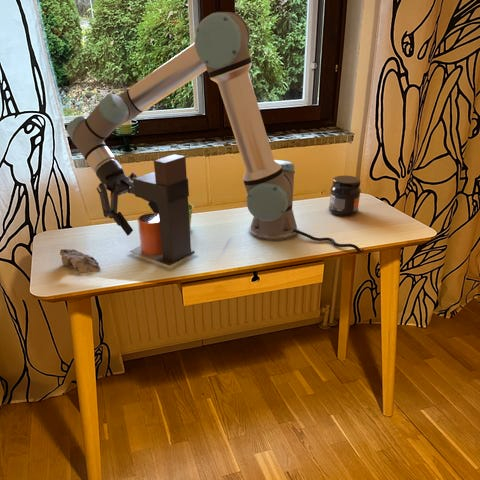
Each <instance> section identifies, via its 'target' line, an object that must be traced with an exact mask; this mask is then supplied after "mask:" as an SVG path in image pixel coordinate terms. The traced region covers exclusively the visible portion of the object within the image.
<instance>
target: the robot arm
mask: <svg viewBox="0 0 480 480" xmlns="http://www.w3.org/2000/svg"><path fill="white" fill-rule="evenodd" d="M250 37H251V34H250V29H249V25H248V24H247V22H246V21H245V19H244V18H243V17H242V16H241V15H239V14H238V13H236V12H232V11H216V12H212V13H211V14H209V15H207V16H205V17H204V18H203V19H202V20H201V21H200V22H199V24H198V25H197V27H196V30H195V33H194V38H193V39H194V40H193V41H194V42H193V43H192V44H191V45H189V46H188V47H186V48H185V49H183V50H182V51H181V52H179V53H178V54H176V55H174V57H172V58H170V59H169V60H167V61H166V62H165V63H164V64H161V65H160V66H158V67H157V68H156V69H154V70H153V71H152V72H150V73H149V74H147V75H146V76H145V77H143V78H141V79H140V80H139V81H137V82H136V83H134V84H132V85H131V86H130V87H129V88H127V89H126V90H124V91H122V92H121V93H120V94H118V95H117V94H114V93H112V92H111V93H110V92H109V93H107V94H106V95H105V96H104V97H103V98H102V99H100V101H99V102H98V104H97V105H96V106H95V107H94V109H92V111H91V112H90V113H89V115H88V116H84V115H80V116H79V115H78V116H76V117H74V118H73V119H72V120H70V121H69V122H68V124H67V126H66V133H67V135H68V136H69V138H70V139H71V142H72V144H73V145H74V146H75V147H76V148H77V150H78V152H80V154H81V155H82V156H83V158H84V160H85V161H86V163H87V165H88V166H89V167H90V168H91V170H92V171H93V172H94V173H95V175H96V177H97V179H98V180H99V181H100V183H99V184H98V185H97V187H96V191H97V193H98V194H99V199H100V205H101V208H102V214H103V217H104V218H109V219H111V220H113V221H114V222H115V223H116V225H117V226H118V227H119V226H120V228H121V229H122V230H123V232H124V233H125V235H126V236H127V237H128V236H130V235H131V233H132V232H133V231H134V229H133V228H132V226H131V225H130V224H129V222H128V220H126V218H125V216H124V215H123V214H122V212H121V211H118V203H119V196H122V195H123V194H124V195H125V194H132V195H134V196H135V189H134V181H133V179H134V178H137V177H138V176H137V174H135V172H131V174H130V175H128V176H127V175H126V174H125V172H124V168H123V167H122V166H121V164H120V163H119V161H118V159H117V160H116V157H115V156H114V154H113V153H112V151H111V150H110V148H109V147H108V146H107V145H106V141H105V140H107V139H108V137H109V136H110V135H111V134H112V133H113V132H114V131H115V130H117V128H119V127H120V126H122V125H124V124H125V123H127V122H129V121H132V120H134V119H136V118H137V117H138V116H139V115H140V114H142V113H143V112H145V111H146V110H148V109H150V108H151V107H152V106H154V105H155V104H157V103H158V102H160V101H162V100H163V99H164V98H166V97H168V96H169V95H170V94H172V93H174V92H176V91H177V90H178V89H180V88H182V87H183V86H185V85H187V84H188V83H189V82H191V81H192V80H194V79H195V78H196V77H197V78H198V76H200V75H201V74H203V73H205V72H207V75H208V77H209V79H210V80H211V81H213V82H214V83H216V84H217V86H218V89H219V92H220V96H221V99H222V101H223V105H224V108H225V111H226V114H227V117H228V120H229V124H230V127H231V130H232V132H233V136H234V139H235V143H236V145H237V148H238V149H237V150H238V152H239V155H240V158H241V161H242V164H243V168H244V170H245V171H244V174H243V176H242V181H243V184H244V187H245V191H246V193H247V195H246V207H247V209H248V211H249V213H250V214H251V215H252V217H253V218H252V221H251V223H250V233H251V234H252V235H253V236H254V237H256V238H258V239H261V240H266V241H282V240H287V239H291V238H293V237H294V236H295V235H296V234H298V235H301V236H303V237H306V238H308V239H309V240H312V241H316V242H325V241H326V242H327V241H328V242H331V244H332V245H333V246H334V247H337V248H353V249H355V250H356V251H357V252H360V253H362V250H361V248H360V247H359V246H358V245H356V244H353V243H339V242H338V243H337V242H336V241H335V239H334V238H332V237H316V236H314V235H311V234H309V233H306V232H304V231H301V230H298V226H297V222H296V219H295V214H294V211H293V201H294V184H295V183H294V182H295V174H296V171H295V164H294V163H293V162H292V161H288V160H281V159H275V157H274V155H273V151H272V148H271V145H270V141H269V138H268V135H267V131H266V127H265V125H264V121H263V117H262V113H261V110H260V107H259V104H258V99H257V97H256V94H255V90H254V86H253V83H252V79H251V76H250V70H251V67H252V66H253V62H252V57H251V54H250V51H249V48H248V47H249V45H250V39H251V38H250ZM108 191H109V192H110V196H109V195H108ZM109 198H110V200H109ZM141 199H142V200H144V201H145V202H148V203H147V205H148V206H149V208H150V209H151V211H152V213H159V212H158V202H154V201H150V200H147V199H143V198H141Z"/></svg>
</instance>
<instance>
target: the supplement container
mask: <svg viewBox="0 0 480 480" xmlns="http://www.w3.org/2000/svg"><path fill="white" fill-rule="evenodd" d="M361 192H362V189H361V179H360V178H359V177H358V176H353V175H337V176H334V177H333V178H332V185H331V187H330V195H329V206H328V210H329V212H330V213H331V214H333V215H334V216H338V217H352V216H354V215H356V214H357V213H358V212H359V206H360V205H359V203H360V197H361Z"/></svg>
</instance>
